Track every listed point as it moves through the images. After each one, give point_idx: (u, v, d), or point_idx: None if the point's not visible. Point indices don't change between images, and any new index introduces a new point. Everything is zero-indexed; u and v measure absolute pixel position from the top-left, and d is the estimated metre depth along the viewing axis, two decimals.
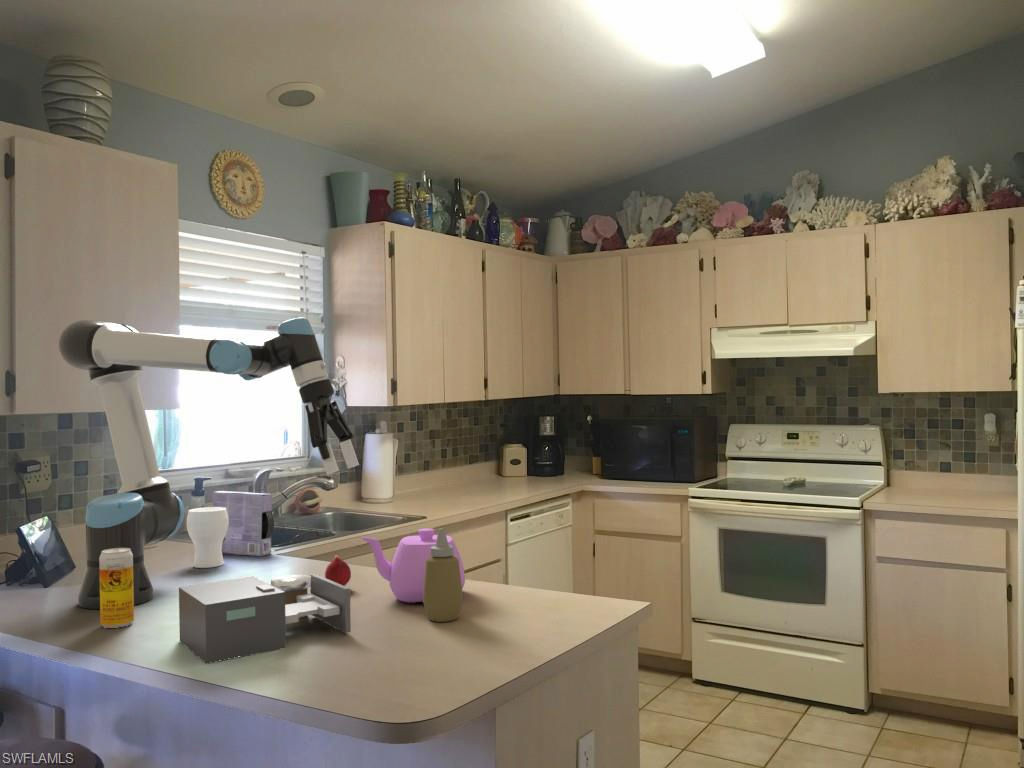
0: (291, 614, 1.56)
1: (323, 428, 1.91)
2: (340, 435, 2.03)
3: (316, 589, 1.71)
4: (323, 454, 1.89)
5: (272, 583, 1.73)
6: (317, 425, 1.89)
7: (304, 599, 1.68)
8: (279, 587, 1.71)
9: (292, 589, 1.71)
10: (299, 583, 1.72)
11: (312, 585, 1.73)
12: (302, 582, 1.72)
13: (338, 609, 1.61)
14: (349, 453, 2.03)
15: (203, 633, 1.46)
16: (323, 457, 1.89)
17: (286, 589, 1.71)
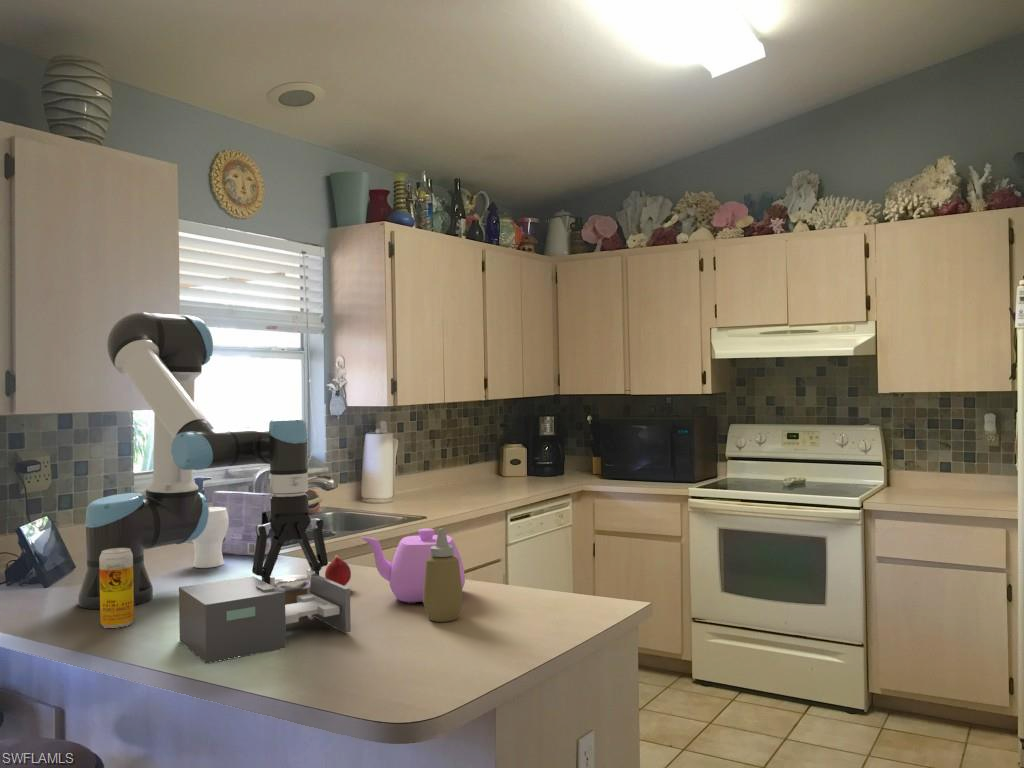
0: (291, 614, 1.56)
1: (270, 557, 1.72)
2: (308, 560, 1.78)
3: (316, 589, 1.71)
4: None
5: None
6: (257, 556, 1.70)
7: (304, 599, 1.68)
8: (279, 587, 1.71)
9: (292, 589, 1.71)
10: (299, 583, 1.72)
11: (312, 585, 1.73)
12: (302, 582, 1.72)
13: (338, 609, 1.61)
14: None
15: (203, 633, 1.46)
16: None
17: (286, 589, 1.71)
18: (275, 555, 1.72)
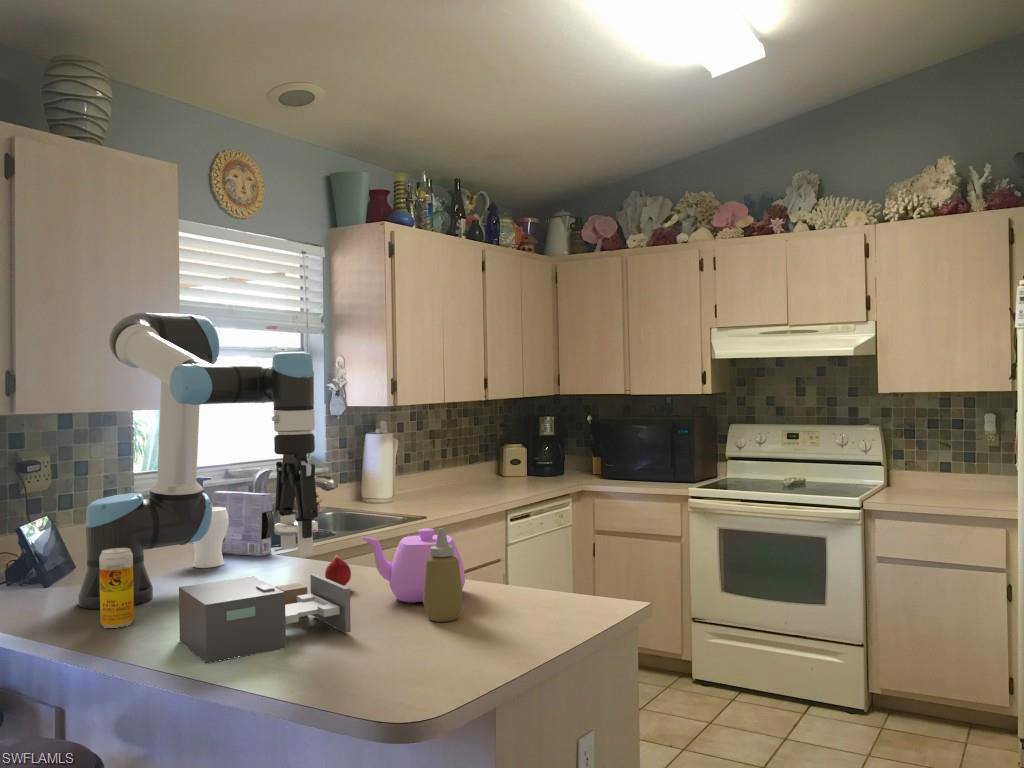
0: (291, 614, 1.56)
1: None
2: None
3: (316, 589, 1.71)
4: None
5: None
6: None
7: (304, 599, 1.68)
8: None
9: None
10: (276, 527, 1.61)
11: (312, 585, 1.73)
12: (278, 527, 1.61)
13: (338, 609, 1.61)
14: None
15: (203, 633, 1.46)
16: None
17: None
18: (282, 494, 1.66)
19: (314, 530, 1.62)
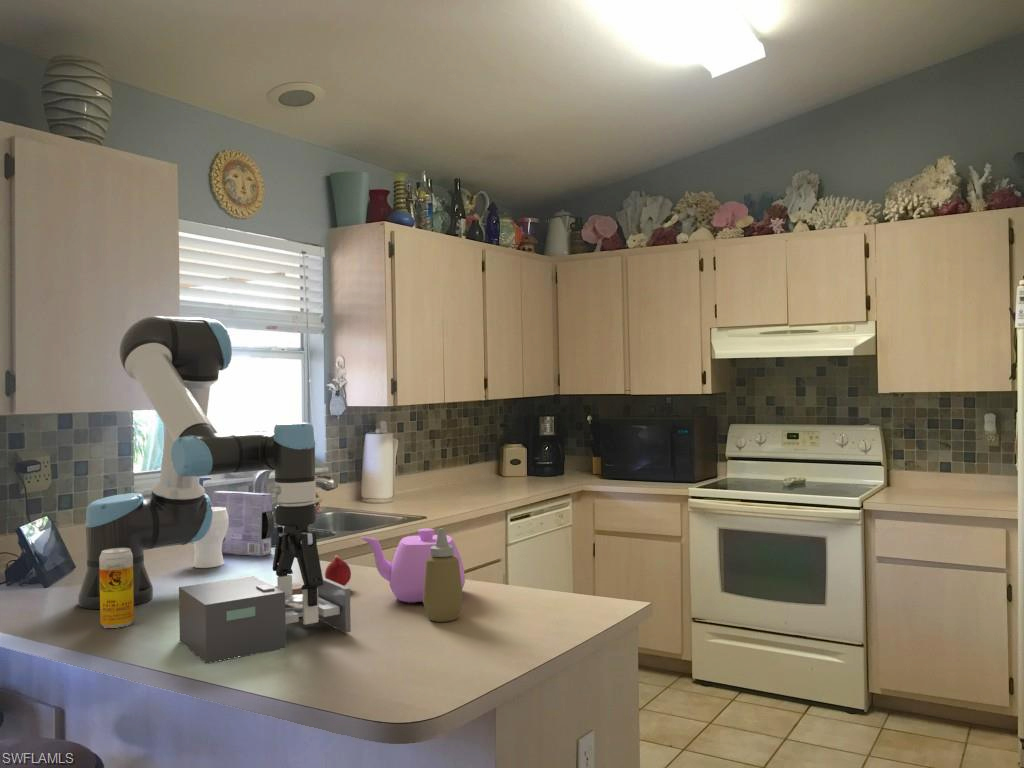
0: (291, 614, 1.56)
1: None
2: None
3: None
4: None
5: None
6: None
7: None
8: None
9: None
10: None
11: None
12: None
13: (338, 609, 1.61)
14: None
15: (203, 633, 1.46)
16: None
17: None
18: (281, 558, 1.67)
19: None
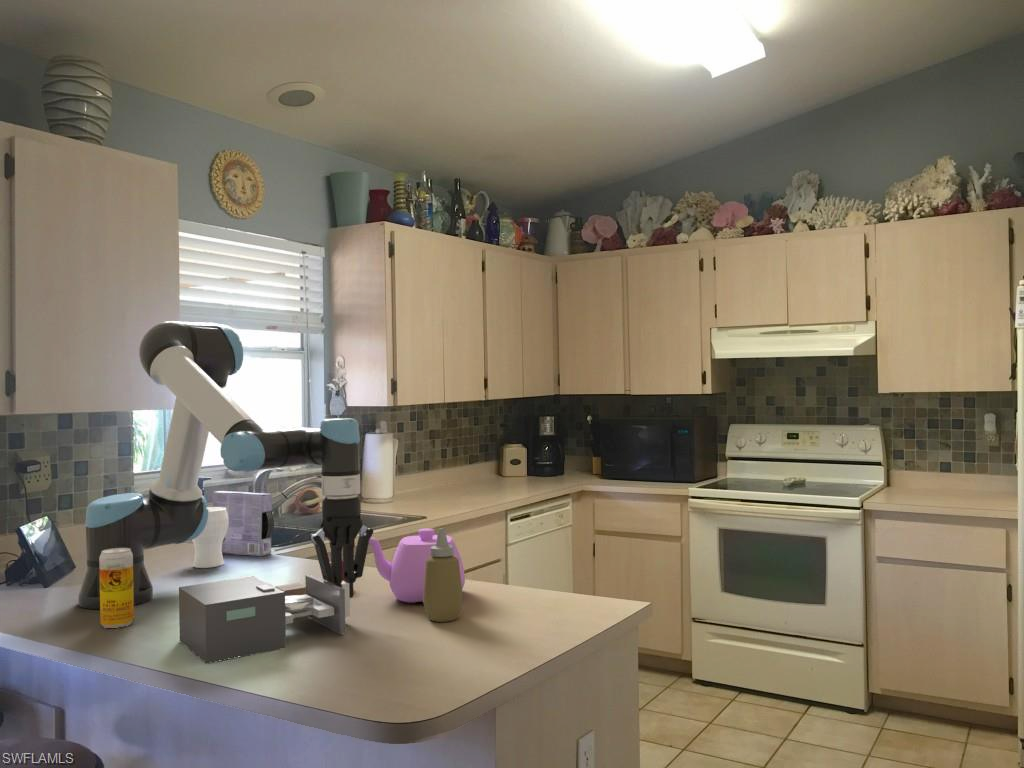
0: (285, 615, 1.56)
1: (335, 564, 1.67)
2: (345, 569, 1.70)
3: (311, 590, 1.71)
4: None
5: None
6: (323, 565, 1.66)
7: None
8: None
9: None
10: None
11: (307, 586, 1.72)
12: None
13: (332, 610, 1.60)
14: None
15: (203, 633, 1.46)
16: None
17: None
18: (339, 560, 1.67)
19: (310, 607, 1.61)
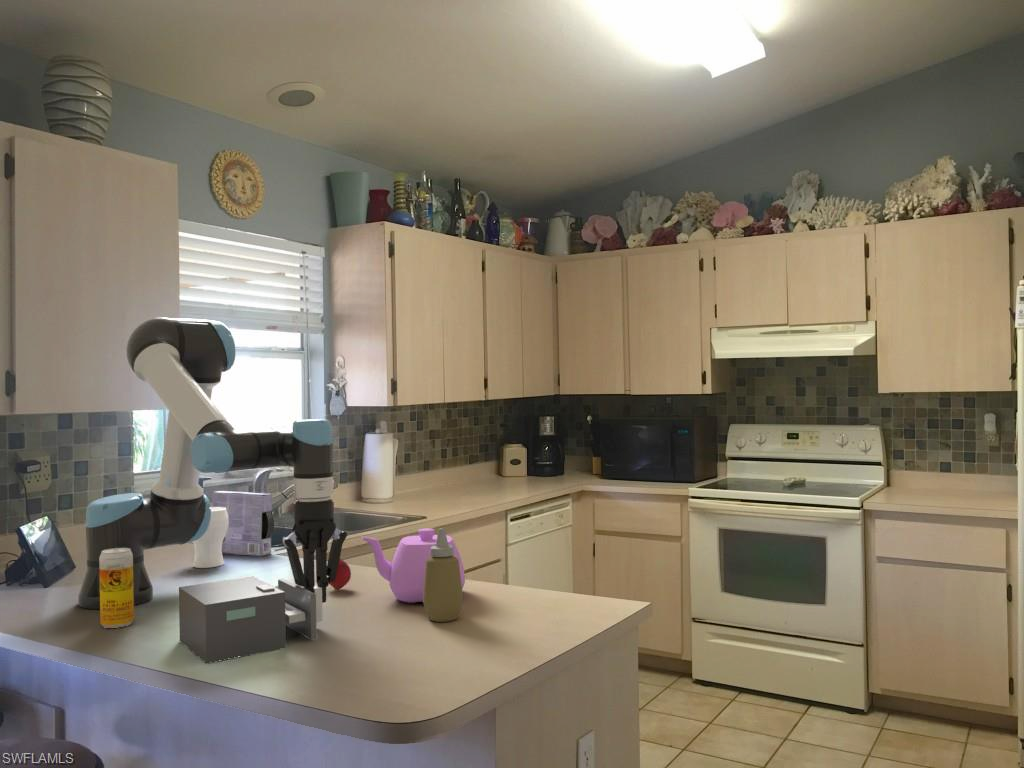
0: None
1: (308, 568, 1.64)
2: (318, 573, 1.66)
3: None
4: None
5: None
6: (295, 569, 1.62)
7: None
8: None
9: None
10: None
11: None
12: None
13: (303, 615, 1.57)
14: None
15: (203, 633, 1.46)
16: None
17: None
18: (311, 564, 1.64)
19: None
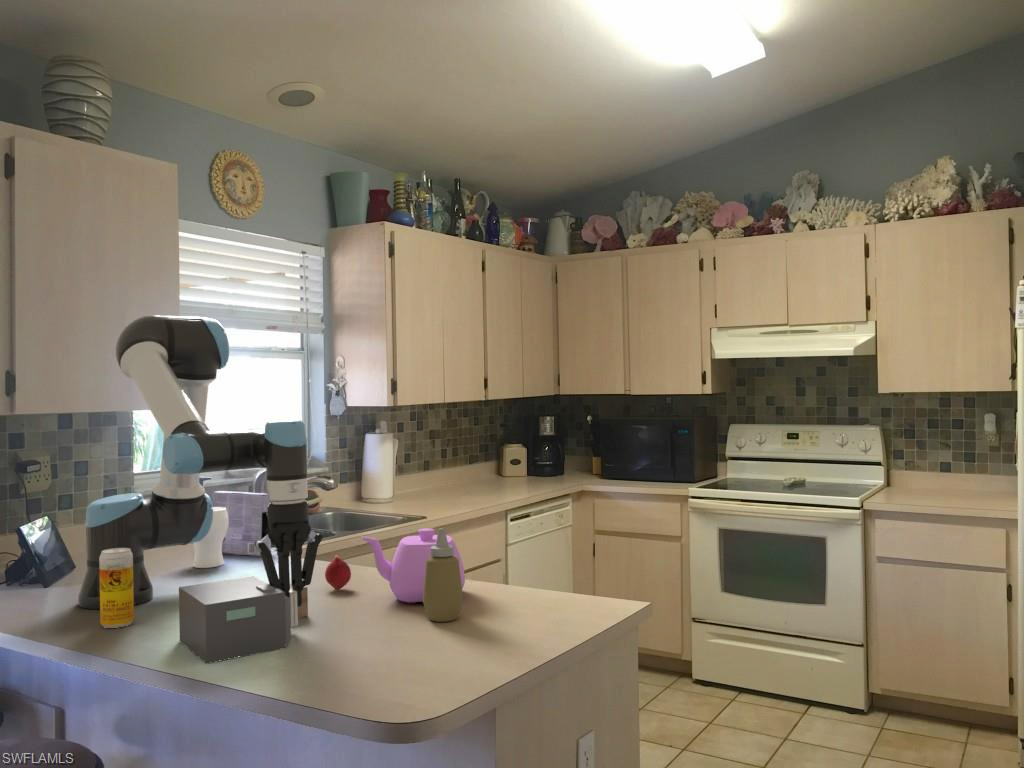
0: None
1: (282, 572, 1.61)
2: (292, 577, 1.63)
3: None
4: None
5: None
6: (269, 573, 1.59)
7: None
8: None
9: None
10: None
11: None
12: None
13: None
14: None
15: (203, 633, 1.46)
16: None
17: None
18: (286, 568, 1.61)
19: None
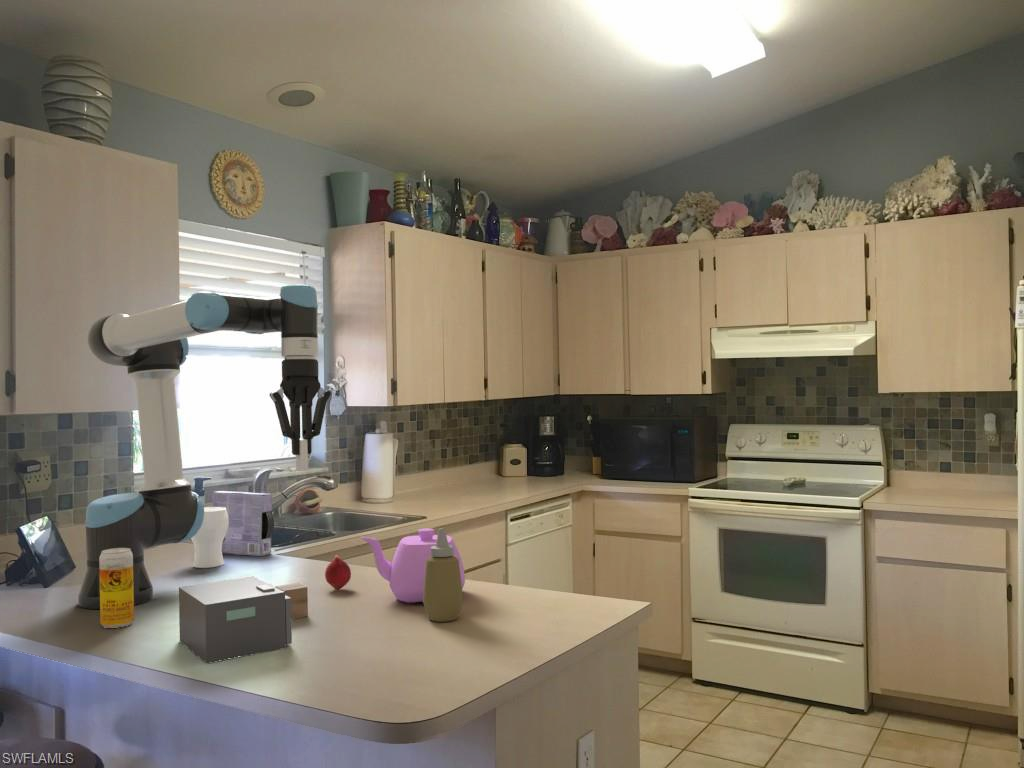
0: None
1: (294, 421, 1.78)
2: (303, 428, 1.81)
3: None
4: (292, 449, 1.79)
5: None
6: (282, 420, 1.77)
7: None
8: None
9: None
10: None
11: None
12: None
13: None
14: None
15: (203, 633, 1.46)
16: (292, 452, 1.79)
17: None
18: (297, 417, 1.78)
19: None
